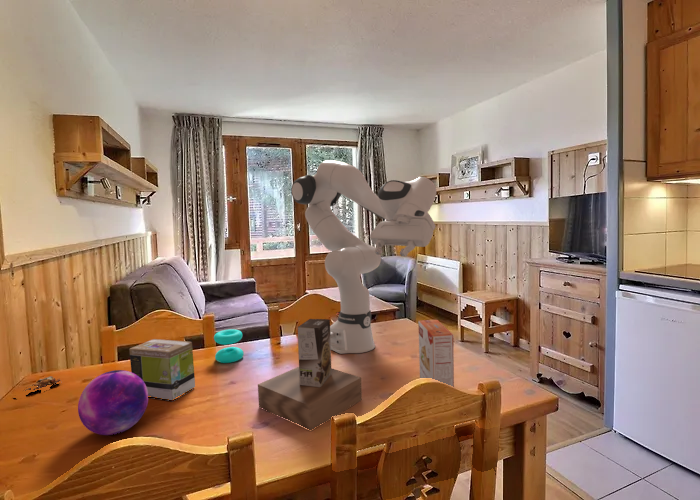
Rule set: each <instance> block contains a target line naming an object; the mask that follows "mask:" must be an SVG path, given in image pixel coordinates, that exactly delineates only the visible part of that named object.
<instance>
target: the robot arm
mask: <svg viewBox="0 0 700 500" xmlns="http://www.w3.org/2000/svg"><path fill="white" fill-rule="evenodd" d="M290 191H291V192H290V193H291V197H292V198H293V200H294V201H295V202H296V203H297V204H299V205H309V206H307V208H306V210H305V212H304V216H305V219H306V221H307V223H308V226H309V227H310V229H311V230H312V232H313V233H314V235H315V236H316V238H317V239H318V240H319V241H320V243H321V244H322V245H323V246H324V248H325V249H327V250H328V251H330V252H328V253H326V254H327V255H326V257H325V258H324V267H325V268H324V269H325V271H326V272H327V274H328V275H329V276H330V277H332V278H333V279H334V281H335V283H336V284H337V287H338V291H339V297H340V298H339V299H340V300H339V301H340V310H339V311H337V312H336V313H335V316H338V317H337V320H336V321H335V322H334V323H332V324H330V342H331V351H334V352H335V353H337V354H339V355H341V354H342V355H345V354H361V353H366V352H369V351H370V352H371V351H372V350H374V349H375V348H376V345H375V342H374V336H373V332H372V331H373V330H372V325H371V323H372V311H371V306H370V291H369V289H368V288H367V286H365V285H363V283H362V280H361V275H363V274H364V275H365V274H367V273H368V274H369V273H370V272H372V271H374V270H376V269H377V268H378V267H379V266H380V265H381V261H382V256H381V255H382V253H383V252H384V251H383V249H382V247H384V246H397V247H400V246H401V247H402V246H403V247H404V248H401V249H400V251H399V255H400V256H401V257H402V258H403V257H404V258H407V256H408V255H409V253H411V252H412V251H413V250H414V249H415V248H416V247H421V248H424V247H427V246H428V245H429V244H430V242H431V240H432V237H433V236H434V230H435V229H436V227H437V226H436V224H435V222H434V220H433V218H432V216H431V215H430V214H429V211H431V208H432V206H433V203H434V201H435V200H436V196H437V187H436V185H435V184H434V182H433V181H432V180H431V179H429V178H427V177H424V176H418V177H417V178H415V179H413V180H409V181H400V180H397V179H395V180H394V179H393V180H392V179H391V180H387V181H386V182H385V183H384V184H382V185H381V186H380V187H379V190H378V191H377V193H375V192H374V191H373V190H372V188H371V187H370V185H369V183H368V181H367V180H366V177H365V176H364V174H363V173H362V171H361V170H360V169H358V168H356V166H354V165H352V164H349V163H347V162H344V161H340V160H335V159H334V160H332V159H326V160H324V161H322V162H321V163H319V165H318V167H317V170H316V173H315V174H313V175H311V174H305V175H304V176H300V177H299V178H297V179H295V180H294V181H293V183H292V185H291V189H290ZM341 195H342V196H344V197H346V198H348V199H350V200H351V201H352V202H354V203H355V204H356V205H359V206H360V207H361V208H363V209H365V210H366V211H368V212H370V213H372V214H374V215H375V216H377V217H379V218H381V219H382V220H383V221H382V220H381V221H380V222H378V224H377V225H376V226H375V227H374V229H373V230H372V232H371V233H370V234H369V238H370V241H371V242H372V243H373V244H374V245H376V246H373V245H371V244H369V243H367V242H365V241H363V240H361V238H359V237H357V236H356V235H355V234H354V233H352V232H351V231H350V230H349V229H348V228H347V227H346V226H345V224H343V223H342V221H341V220H340V219H339V218H338V217H337V216H336V213H334V212H333V210H332V208H331V207H334V206H335V205H336V204H337V202H338V201H339V199H340V198H341Z"/></svg>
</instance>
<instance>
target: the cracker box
mask: <svg viewBox="0 0 700 500" xmlns="http://www.w3.org/2000/svg"><path fill="white" fill-rule="evenodd" d="M417 323H418V354H419V355H418V356H419V357H418V358H419V363H418V364H419V365H418V366H419V379H420V378H432V379H435V380H438V381H440V382H443V383H446V384H448V385H451V386H453V387H454V388H455V376H454V375H455V371H454V370H455V368H454V367H455V366H454V365H455V364H454V362H455V360H454V359H455V358H454V356H455V355H454V352H455V350H454V349H455V348H454V347H455V346H454V334H453V333H452V332H451V331H450V330H449V329H447V328H446V326H445V325H444V324H442V323H441V322H440V321H439V320H438V319H423V320H418V322H417Z"/></svg>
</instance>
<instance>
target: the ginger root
mask: <svg viewBox="0 0 700 500" xmlns="http://www.w3.org/2000/svg"><path fill="white" fill-rule="evenodd" d="M59 381H61V379H60V378H57V379H56V378H55V377H54V376H48V377H45V378H39V379H38V380H37V381H36V382H35V383H33V384H30V385H28V386H27V387H29V386H33V385H34V386H38V387H36V388H34V389H33V390H35V389H39V388H42V387H46V386H47V385H52V384H54V385H56V384H55V383H57V382H59ZM25 389H26V388H25ZM25 389H24V390H25ZM26 390H31V388H28V389H26ZM26 390H25V391H26Z"/></svg>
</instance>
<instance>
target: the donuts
mask: <svg viewBox="0 0 700 500" xmlns="http://www.w3.org/2000/svg"><path fill="white" fill-rule="evenodd" d="M213 339H214V342H215V343H217V344H219V345H226V347H224V348H221V349H219V350H218V351H217V352H216V353H215V354H214V355H215V356H214V357H215V358H214V359H215V360H216V361H217V362H218V363H221V364H229V363H231V364H232V363H235V362H238V361H241V359H242V358H243V357H244V354H245V353H244V350H243V349H242V348H241V347H237V346H228V347H227V345H232V344H235V343H239V342H240V341H241V340H242V339H243V332H242V331H241V330H240V329H236V328H235V329H233V328H232V329H229V328H228V329H223V330H220V331H218V332H216V333H215V334H214V336H213Z"/></svg>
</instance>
